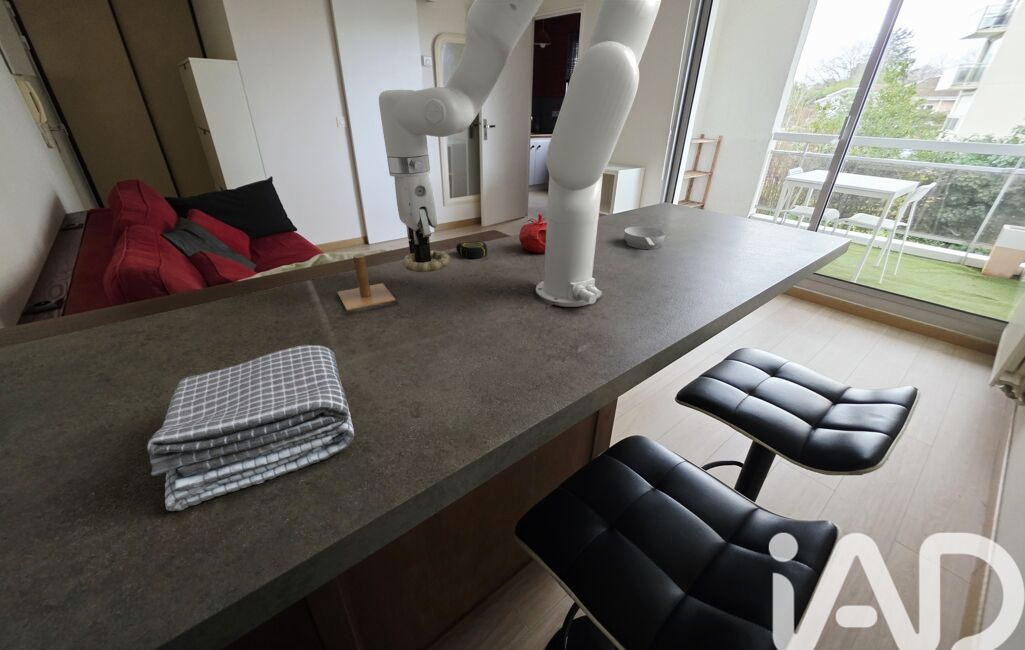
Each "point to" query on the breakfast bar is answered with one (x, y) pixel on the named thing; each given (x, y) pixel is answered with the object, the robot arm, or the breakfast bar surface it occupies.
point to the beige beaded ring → (427, 267)
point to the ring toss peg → (364, 289)
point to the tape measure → (472, 250)
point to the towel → (250, 424)
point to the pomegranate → (534, 235)
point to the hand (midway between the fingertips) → (421, 259)
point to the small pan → (644, 237)
